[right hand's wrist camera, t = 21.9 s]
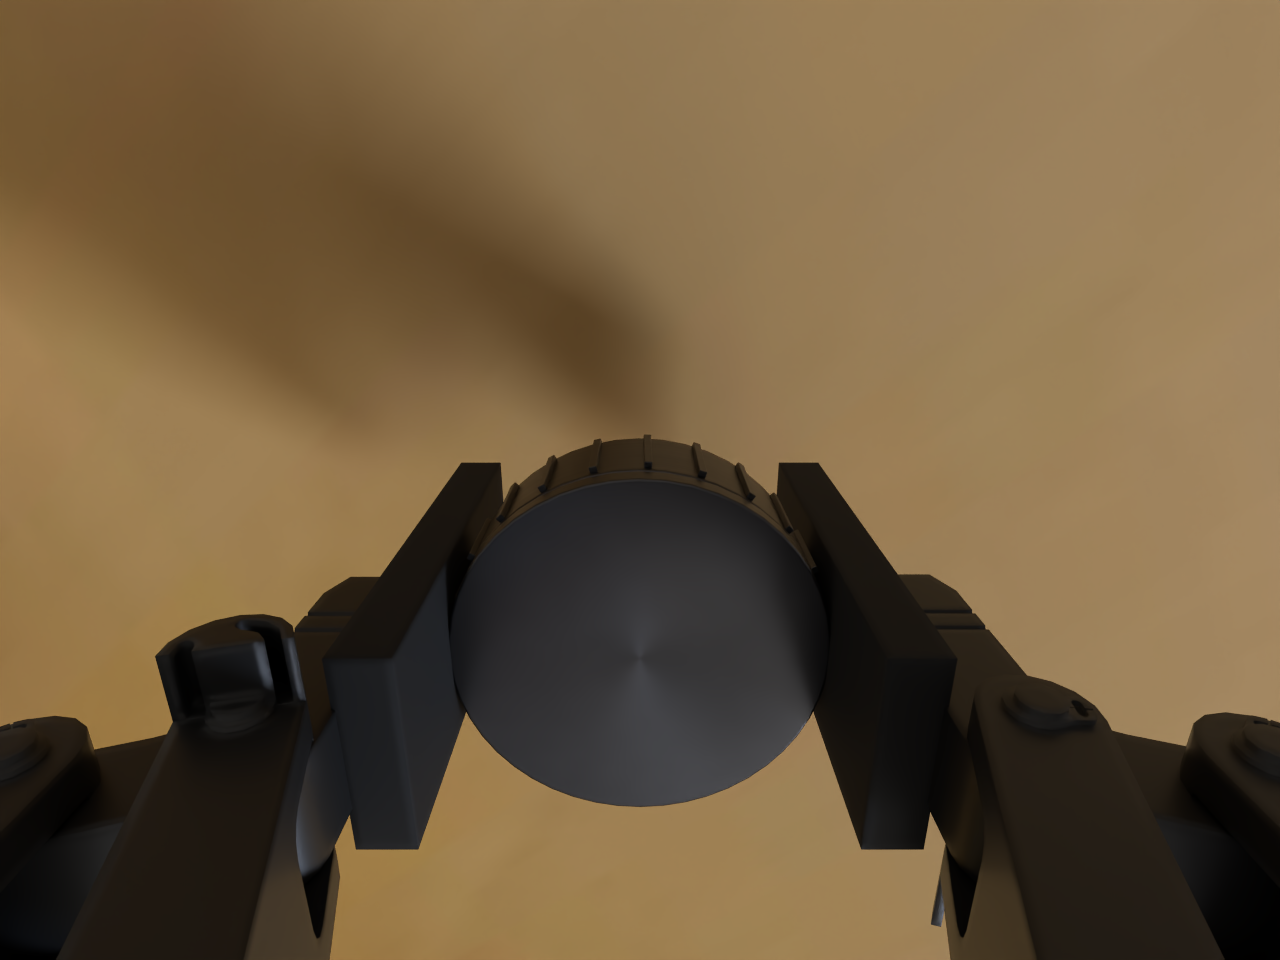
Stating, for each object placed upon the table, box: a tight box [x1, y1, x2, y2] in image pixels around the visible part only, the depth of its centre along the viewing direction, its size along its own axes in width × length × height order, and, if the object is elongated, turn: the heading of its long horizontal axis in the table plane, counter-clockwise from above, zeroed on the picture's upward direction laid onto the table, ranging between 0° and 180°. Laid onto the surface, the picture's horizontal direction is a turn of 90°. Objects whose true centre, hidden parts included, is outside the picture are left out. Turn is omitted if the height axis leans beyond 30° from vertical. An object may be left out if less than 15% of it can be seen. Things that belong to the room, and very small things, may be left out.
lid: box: [449, 435, 830, 807], centre depth 11 cm, size 6×6×2 cm
